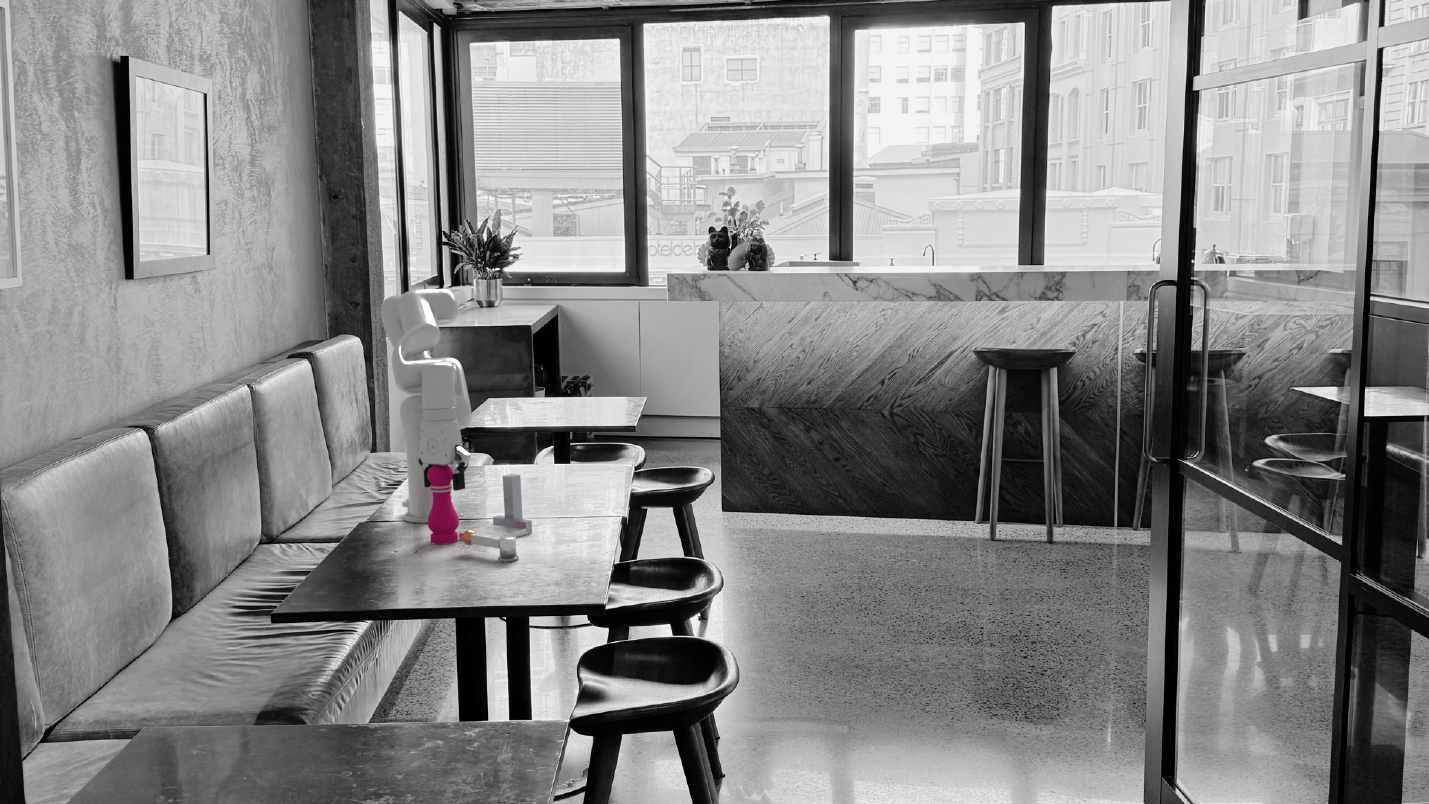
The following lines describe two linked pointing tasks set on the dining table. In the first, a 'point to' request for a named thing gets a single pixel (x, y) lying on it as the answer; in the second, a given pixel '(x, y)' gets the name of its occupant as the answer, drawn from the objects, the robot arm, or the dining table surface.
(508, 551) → the lever
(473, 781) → the dining table surface
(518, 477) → the press bed
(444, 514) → the pepper mill
